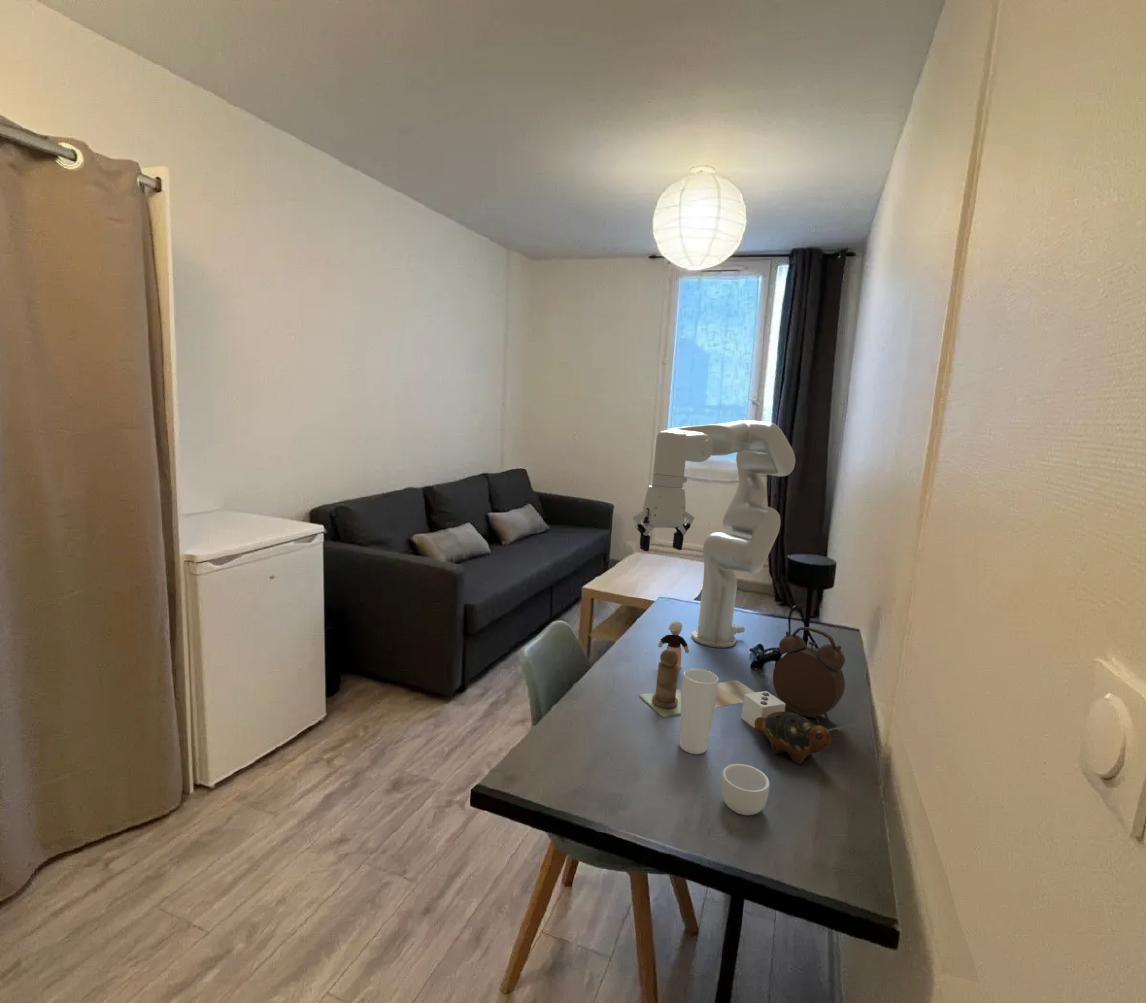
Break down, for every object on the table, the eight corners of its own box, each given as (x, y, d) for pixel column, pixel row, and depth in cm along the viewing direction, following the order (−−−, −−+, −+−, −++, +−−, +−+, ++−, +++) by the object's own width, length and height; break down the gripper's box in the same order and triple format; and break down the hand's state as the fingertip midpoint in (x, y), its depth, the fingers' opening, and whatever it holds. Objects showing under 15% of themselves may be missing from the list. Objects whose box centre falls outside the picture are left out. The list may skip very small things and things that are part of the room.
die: (763, 716, 137) (766, 690, 136) (782, 730, 131) (785, 703, 130) (741, 720, 134) (744, 693, 133) (759, 734, 129) (762, 706, 128)
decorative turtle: (821, 779, 114) (823, 738, 113) (743, 750, 124) (744, 713, 123) (838, 756, 122) (840, 718, 120) (764, 731, 131) (765, 695, 130)
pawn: (668, 695, 142) (673, 643, 140) (682, 707, 137) (688, 653, 135) (647, 698, 140) (652, 646, 138) (660, 710, 135) (666, 656, 133)
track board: (736, 681, 153) (737, 680, 153) (764, 700, 145) (765, 698, 144) (639, 696, 142) (639, 694, 141) (663, 717, 133) (663, 716, 133)
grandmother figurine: (685, 667, 160) (691, 620, 158) (687, 673, 156) (692, 625, 154) (655, 664, 160) (660, 617, 158) (656, 670, 157) (661, 622, 155)
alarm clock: (842, 722, 137) (855, 635, 134) (830, 733, 132) (843, 643, 129) (779, 697, 147) (790, 616, 144) (765, 707, 141) (777, 622, 138)
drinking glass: (689, 760, 117) (698, 685, 115) (668, 742, 123) (676, 670, 121) (717, 753, 120) (726, 680, 118) (695, 736, 126) (703, 666, 124)
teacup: (766, 827, 100) (770, 796, 99) (717, 815, 102) (721, 785, 101) (764, 791, 109) (768, 763, 108) (720, 781, 111) (723, 753, 110)
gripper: (687, 480, 160) (681, 545, 162) (629, 478, 152) (623, 547, 155) (705, 484, 153) (698, 552, 156) (645, 483, 146) (638, 554, 148)
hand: (660, 549), depth 155 cm, fingers open, 9 cm apart
